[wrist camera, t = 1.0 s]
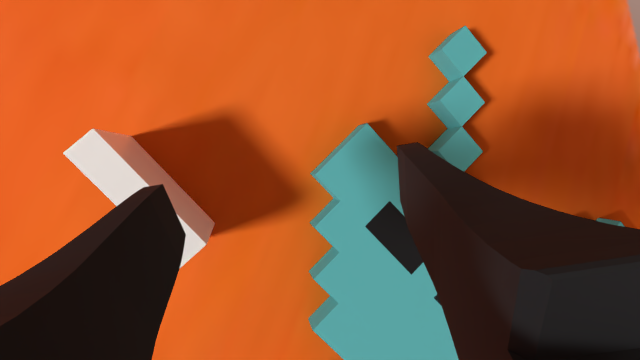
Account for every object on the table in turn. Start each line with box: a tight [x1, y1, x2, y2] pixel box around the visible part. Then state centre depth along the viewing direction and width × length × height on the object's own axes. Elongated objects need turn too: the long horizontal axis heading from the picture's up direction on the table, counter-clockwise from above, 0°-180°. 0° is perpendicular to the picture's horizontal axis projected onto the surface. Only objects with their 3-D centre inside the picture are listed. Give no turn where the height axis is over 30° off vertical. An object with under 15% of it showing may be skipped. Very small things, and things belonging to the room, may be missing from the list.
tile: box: [63, 129, 215, 268], centre depth 20 cm, size 2×7×6 cm, turn 41°
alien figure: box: [308, 26, 625, 360], centre depth 26 cm, size 20×2×20 cm
